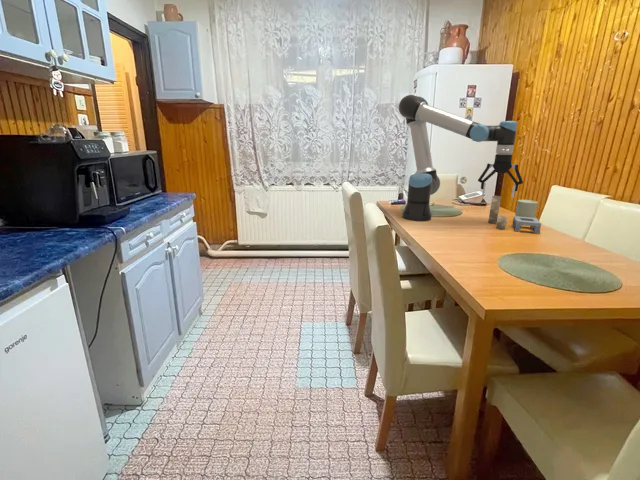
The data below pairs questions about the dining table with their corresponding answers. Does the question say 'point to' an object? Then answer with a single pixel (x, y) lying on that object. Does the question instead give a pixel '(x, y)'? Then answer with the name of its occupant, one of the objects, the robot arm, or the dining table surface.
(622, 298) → the dining table surface
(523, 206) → the can
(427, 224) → the dining table surface
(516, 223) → the square frame with posts
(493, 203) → the long dowel
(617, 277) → the dining table surface
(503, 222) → the short dowel
